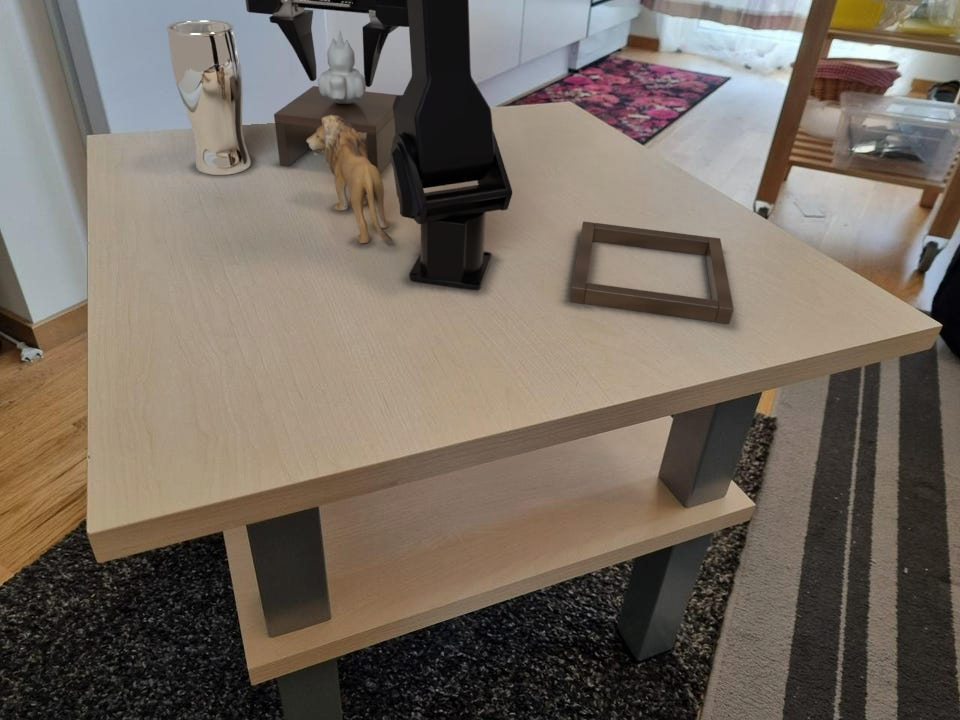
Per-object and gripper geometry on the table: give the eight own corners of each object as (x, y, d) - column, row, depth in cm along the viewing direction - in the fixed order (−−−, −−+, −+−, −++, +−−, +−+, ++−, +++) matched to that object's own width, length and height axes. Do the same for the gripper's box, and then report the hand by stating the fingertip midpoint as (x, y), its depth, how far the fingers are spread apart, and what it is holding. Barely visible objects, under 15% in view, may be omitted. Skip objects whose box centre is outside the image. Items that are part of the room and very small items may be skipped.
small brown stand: (377, 177, 82) (375, 125, 79) (279, 165, 84) (273, 114, 80) (405, 142, 92) (405, 95, 88) (317, 132, 93) (313, 85, 90)
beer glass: (232, 180, 80) (208, 36, 71) (179, 170, 81) (149, 28, 72) (266, 160, 85) (248, 24, 76) (216, 151, 87) (193, 16, 78)
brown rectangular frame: (729, 324, 60) (733, 309, 60) (569, 302, 62) (571, 287, 61) (716, 251, 71) (720, 238, 70) (581, 234, 73) (583, 221, 72)
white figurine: (370, 97, 87) (367, 26, 82) (361, 114, 82) (357, 39, 77) (326, 94, 87) (320, 23, 82) (314, 111, 82) (307, 36, 77)
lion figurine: (308, 197, 77) (299, 113, 72) (353, 188, 79) (348, 107, 74) (368, 254, 67) (363, 162, 62) (417, 242, 70) (417, 152, 64)
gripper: (436, -73, 79) (435, 73, 88) (277, -85, 81) (292, 59, 90) (410, -64, 70) (411, 98, 79) (232, -77, 72) (254, 82, 82)
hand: (341, 83), depth 83 cm, fingers open, 6 cm apart
